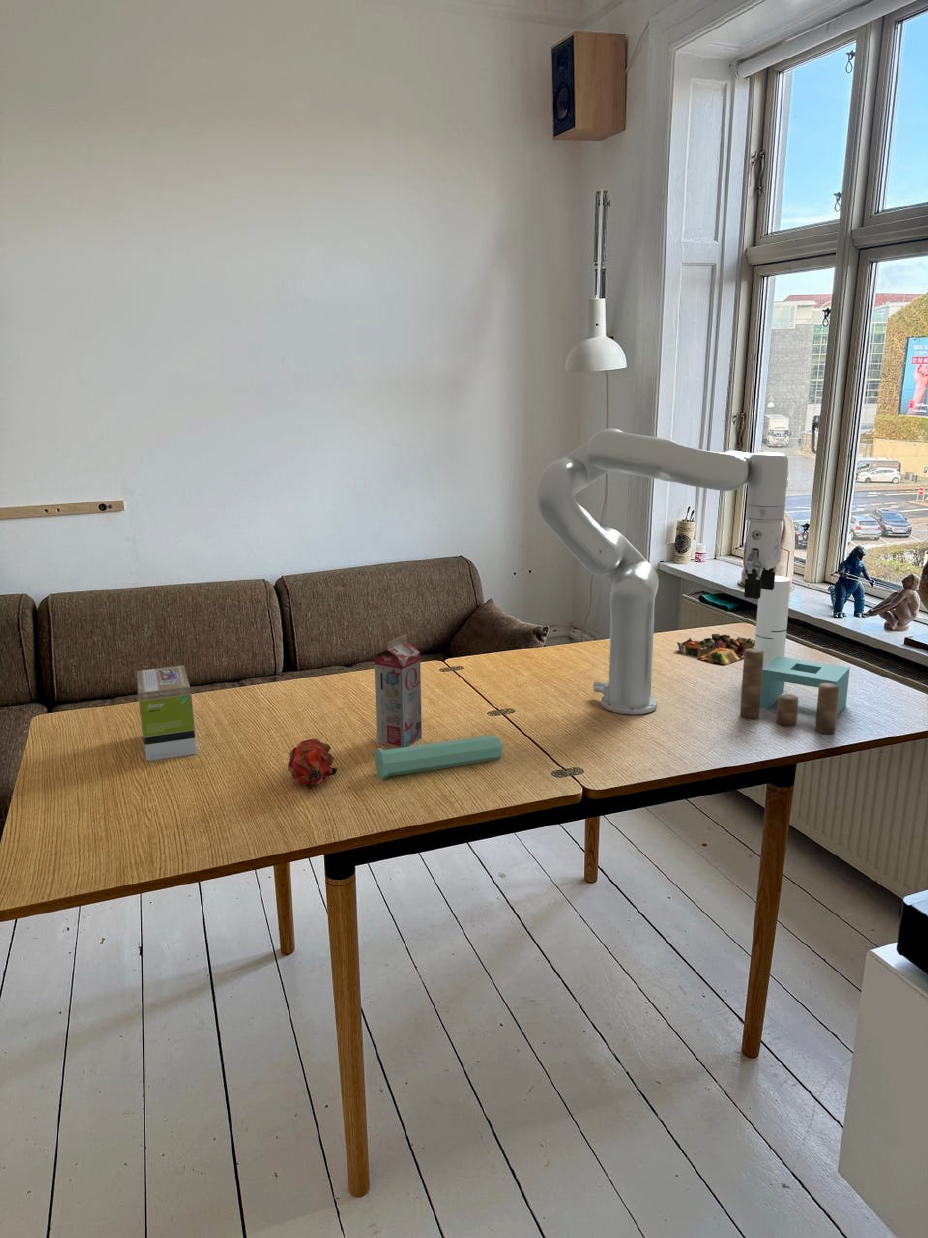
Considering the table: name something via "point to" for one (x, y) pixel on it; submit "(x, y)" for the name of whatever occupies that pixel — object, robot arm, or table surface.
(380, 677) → the juice carton
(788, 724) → the short pin
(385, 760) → the container
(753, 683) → the tall pin
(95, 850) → the table surface
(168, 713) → the tea box
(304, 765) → the dragon fruit
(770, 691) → the teal bridge
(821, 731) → the medium pin
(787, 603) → the cylindrical container
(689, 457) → the robot arm
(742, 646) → the food
